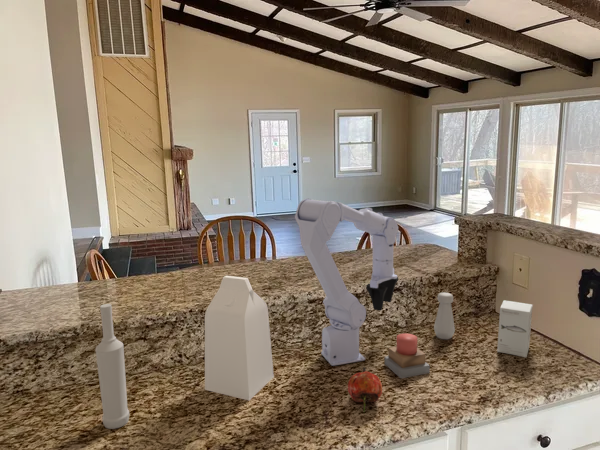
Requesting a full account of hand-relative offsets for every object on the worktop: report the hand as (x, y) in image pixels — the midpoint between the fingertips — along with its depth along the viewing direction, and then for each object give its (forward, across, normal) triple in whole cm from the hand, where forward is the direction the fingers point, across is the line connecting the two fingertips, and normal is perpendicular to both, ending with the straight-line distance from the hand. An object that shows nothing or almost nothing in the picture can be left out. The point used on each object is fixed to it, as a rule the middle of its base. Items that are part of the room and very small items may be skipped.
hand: (382, 305), depth 130 cm
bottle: (+10, -64, +34) cm, 73 cm away
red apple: (+10, -33, -8) cm, 36 cm away
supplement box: (+11, +10, -33) cm, 37 cm away
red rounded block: (+6, -13, -11) cm, 18 cm away
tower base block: (+11, -13, -11) cm, 20 cm away
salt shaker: (+11, +10, -15) cm, 21 cm away
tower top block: (+8, -13, -11) cm, 19 cm away
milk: (+10, -39, +21) cm, 46 cm away
